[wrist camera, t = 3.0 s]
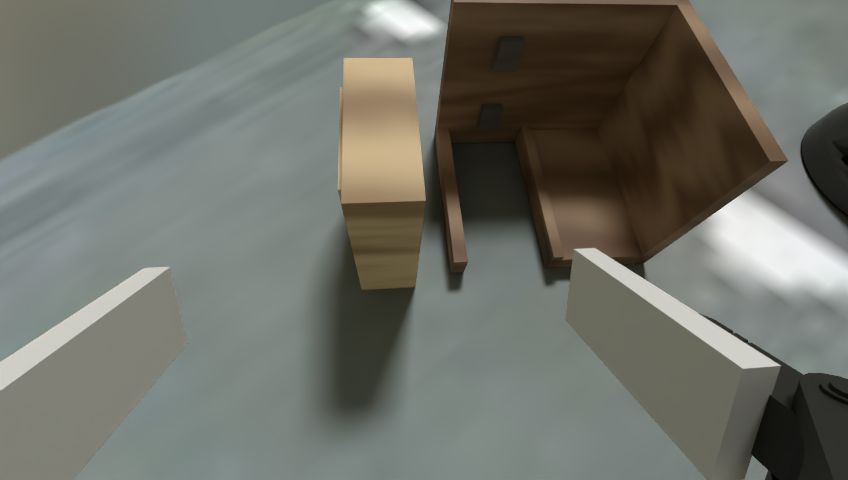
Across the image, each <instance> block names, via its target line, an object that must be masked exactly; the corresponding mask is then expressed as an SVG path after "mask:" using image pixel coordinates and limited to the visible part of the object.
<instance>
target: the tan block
mask: <svg viewBox="0 0 848 480" xmlns="http://www.w3.org/2000/svg"><path fill="white" fill-rule="evenodd" d="M338 193H339V197H340V201H341V205H342V209H343V214H344V218H345V222H346V226H347V230H348V235H349V239H350V243H351V247H352V251H353V256H354V260H355V264H356V268H357V272H358V276H359V281H360V285H361V289H362V290H369V289H387V288H406V287H415V286H416V278H417V269H418V261H419V253H420V245H421V237H422V228H423V220H424V212H425V204H426V197H425V186H424V176H423V166H422V155H421V145H420V134H419V124H418V114H417V103H416V93H415V82H414V72H413V62H412V58H344V76H343V88H340V118H339V161H338Z"/></svg>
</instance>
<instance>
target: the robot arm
mask: <svg viewBox="0 0 848 480" xmlns="http://www.w3.org/2000/svg"><path fill="white" fill-rule="evenodd" d="M802 154H803V158H804V162H805V165H806V167H807V169H808V171H809V173H810V175H811V177H812V178H813V180H814V181H815V183H816V184H817V186H818V187H819V188H820V189H821V191H822V192H823V193H824V194H825V195H826V196H827V197H828V198H829V199H830V200H831V201H832V202H833V203H834V204H835V205H836V206H837V207H838V208H839V209H840V210H842V211H843V212H844V213H845V214H847V215H848V103H846V104H844V105H841V106H839V107H837V108H836V109H834V110H832V111H831V112H830V113H828V114H827V115H825V116H824V117H823V118H821V119H820V120H819V121H817V122H816V123H815V124H813V125H812V126H811V127H810V128H809V129H808V130H807V132H806V133H805V135H804V138H803V142H802ZM565 320H566V321H567V322H568V324H569V325H570V326H571V327H572V328H573V329H574V330H575V331H576V333H577V334H578V335H579V336H580V337H581V338H582V339H583V340H584V342H585V343H586V344H587V345H588V346H589V347H590V348H591V349H592V351H593V352H594V353H595V354H596V355H597V356H598V357H599V358H600V360H601V361H602V362H603V363H604V364H605V365H606V366H607V367H608V369H609V370H610V371H611V372H612V373H613V374H614V375H615V376H616V378H617V379H618V380H619V381H620V382H621V383H622V384H623V386H624V387H625V388H626V389H627V390H628V391H629V392H630V393H631V395H632V396H633V397H634V398H635V399H636V400H637V401H638V402H639V404H640V405H641V406H642V407H643V408H644V409H645V410H646V411H647V413H648V414H649V415H650V416H651V417H652V418H653V419H654V420H655V422H656V423H657V424H658V425H659V426H660V427H661V428H662V429H663V431H664V432H665V433H666V434H667V435H668V436H669V437H670V438H671V440H672V441H673V442H674V443H675V444H676V445H677V446H678V447H679V449H680V450H681V451H682V452H683V453H684V454H685V455H686V457H687V458H688V459H689V460H690V461H691V462H692V463H693V464H694V466H695V467H696V468H697V469H698V470H699V471H700V472H701V473H702V475H703V476H704V477H705V478H706V479H707V480H742V479H744V478H745V475H746V472H747V469H748V466H749V463H750V460H751V457H752V455H753V456H754V457H755V458H756V459H757V460H758V461H759V462H760V463H761V464H762V465H764V466H765V467H766V468H767V469H768V472H767V475H766V478H765V480H848V379H845V378H842V377H839V376H834V375H829V374H823V373H808V374H805V375H803V374H801V373H800V372H798V371H796V370H795V369H793V368H792V367H790V366H788V365H787V364H785V363H784V362H782V361H780V360H779V359H777V358H775V357H774V356H772V355H771V354H769V353H767V352H766V351H764V350H763V349H761V348H759V347H758V346H756V345H755V344H753V343H748V340H746V339H745V338H743V337H742V336H740V335H738V334H737V333H733V331H732V330H730V329H729V328H727V327H726V326H724V325H722V324H721V323H719V322H718V321H716V320H714V319H712V318H709V317H707V316H704V315H702V314H699V313H697V312H695V311H694V310H692V309H691V308H689V307H687V306H686V305H684V304H683V303H681V302H680V301H678V300H676V299H675V298H673V297H672V296H670V295H668V294H667V293H665V292H664V291H662V290H661V289H659V288H657V287H656V286H654V285H653V284H651V283H649V282H648V281H646V280H645V279H643V278H642V277H640V276H638V275H637V274H635V273H634V272H632V271H631V270H629V269H627V268H626V267H624V266H623V265H621V264H619V263H618V262H616V261H615V260H613V259H612V258H610V257H608V256H607V255H605V254H604V253H602V252H601V251H599V250H597V249H596V248H583V249H574V250H573V259H572V268H571V276H570V285H569V293H568V302H567V310H566V319H565ZM187 344H188V342H187V338H186V334H185V329H184V325H183V320H182V316H181V312H180V307H179V303H178V298H177V294H176V290H175V285H174V281H173V276H172V272H171V268H170V267H157V268H144V269H142V270H141V271H139V272H137V273H136V274H134V275H133V276H131V277H130V278H128V279H127V280H125V281H124V282H122V283H121V284H119V285H118V286H116V287H115V288H113V289H111V290H110V291H108V292H107V293H105V294H104V295H102V296H101V297H99V298H98V299H96V300H95V301H93V302H92V303H90V304H89V305H87V306H85V307H84V308H82V309H81V310H79V311H78V312H76V313H75V314H73V315H72V316H70V317H69V318H67V319H66V320H64V321H63V322H61V323H59V324H58V325H56V326H55V327H53V328H52V329H50V330H49V331H47V332H46V333H44V334H43V335H41V336H40V337H38V338H37V339H35V340H33V341H32V342H30V343H29V344H27V345H26V346H24V347H23V348H21V349H20V350H18V351H17V352H15V353H14V354H12V355H11V356H9V357H7V358H6V359H4V360H3V361H1V362H0V480H74V479H75V477H76V476H77V475H78V474H79V473H80V471H81V470H82V469H83V468H84V467H85V465H86V464H87V463H88V462H89V461H90V460H91V458H92V457H93V456H94V455H95V454H96V452H97V451H98V450H99V449H100V448H101V446H102V445H103V444H104V443H105V442H106V440H107V439H108V438H109V437H110V436H111V435H112V433H113V432H114V431H115V430H116V429H117V427H118V426H119V425H120V424H121V423H122V421H123V420H124V419H125V418H126V417H127V415H128V414H129V413H130V412H131V411H132V410H133V408H134V407H135V406H136V405H137V404H138V402H139V401H140V400H141V399H142V398H143V396H144V395H145V394H146V393H147V392H148V390H149V389H150V388H151V387H152V386H153V384H154V383H155V382H156V381H157V380H158V379H159V377H160V376H161V375H162V374H163V373H164V371H165V370H166V369H167V368H168V367H169V365H170V364H171V363H172V362H173V361H174V359H175V358H176V357H177V356H178V355H179V354H180V352H181V351H182V350H183V349H184V348H185V346H186V345H187Z"/></svg>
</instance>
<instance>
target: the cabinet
mask: <svg viewBox="0 0 848 480" xmlns="http://www.w3.org/2000/svg"><path fill="white" fill-rule="evenodd" d="M479 142H515V143H516V147H517V151H518V155H519V160H520V164H521V168H522V172H523V177H524V181H525V185H526V189H527V193H528V198H529V202H530V206H531V210H532V215H533V219H534V223H535V227H536V232H537V236H538V240H539V244H540V249H541V253H542V257H543V261H544V265H545V268H554V267H572V259H573V250H574V249H583V248H596V249H597V250H599V251H601V252H602V253H604V254H605V255H607V256H608V257H610V258H612V259H613V260H615V261H616V262H618V263H619V264H632V263H645V262H646V261H647V260H649V259H650V258H652V257H653V256H654V255H656V254H657V253H659V252H660V251H662V250H663V249H664V248H666V247H667V246H669V245H670V244H671V243H673V242H674V241H676V240H677V239H679V238H680V237H681V236H683V235H684V234H686V233H687V232H688V231H690V230H691V229H693V228H694V227H695V226H697V225H698V224H700V223H701V222H703V221H704V220H705V219H707V218H708V217H710V216H711V215H712V214H714V213H715V212H717V211H718V210H719V209H721V208H722V207H724V206H725V205H727V204H728V203H729V202H731V201H732V200H734V199H735V198H736V197H738V196H739V195H741V194H742V193H743V192H745V191H746V190H748V189H749V188H751V187H752V186H753V185H755V184H756V183H758V182H759V181H760V180H762V179H763V178H765V177H766V176H767V175H769V174H770V173H772V172H773V171H775V170H776V169H777V168H779V167H780V166H782V165H783V164H784V163H786V162H787V161H788V160H787V158H786V156H785V155H784V153H783V152H782V150H781V148H780V147H779V145H778V144H777V142H776V140H775V139H774V137H773V136H772V134H771V132H770V131H769V129H768V127H767V126H766V124H765V123H764V121H763V119H762V118H761V116H760V115H759V113H758V111H757V110H756V108H755V107H754V105H753V103H752V102H751V100H750V98H749V97H748V95H747V94H746V92H745V90H744V89H743V87H742V86H741V84H740V82H739V81H738V79H737V77H736V76H735V74H734V73H733V71H732V69H731V68H730V66H729V65H728V63H727V61H726V60H725V58H724V57H723V55H722V53H721V52H720V50H719V48H718V47H717V45H716V44H715V42H714V40H713V39H712V37H711V36H710V34H709V32H708V31H707V29H706V28H705V26H704V24H703V23H702V21H701V19H700V18H699V16H698V15H697V13H696V11H695V10H694V8H693V7H692V5H691V3H690V2H689V0H451V6H450V14H449V22H448V30H447V38H446V46H445V54H444V62H443V70H442V78H441V87H440V95H439V103H438V111H437V119H436V127H435V143H436V152H437V160H438V169H439V177H440V186H441V194H442V203H443V211H444V219H445V228H446V236H447V245H448V253H449V262H450V270H451V273H456V272H464V270H465V267H466V265H467V262H468V259H467V252H466V245H465V238H464V231H463V224H462V217H461V210H460V203H459V196H458V189H457V182H456V174H455V167H454V160H453V153H452V146H451V143H479Z"/></svg>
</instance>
